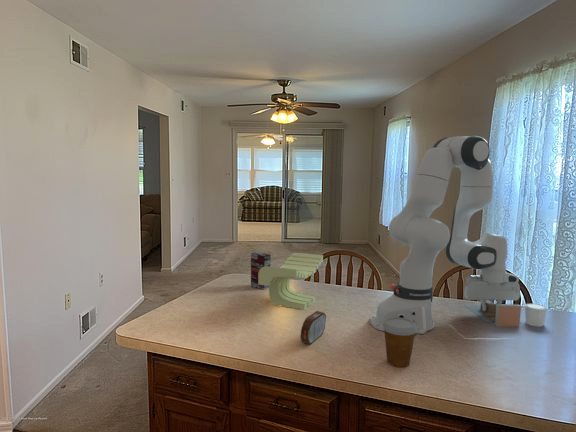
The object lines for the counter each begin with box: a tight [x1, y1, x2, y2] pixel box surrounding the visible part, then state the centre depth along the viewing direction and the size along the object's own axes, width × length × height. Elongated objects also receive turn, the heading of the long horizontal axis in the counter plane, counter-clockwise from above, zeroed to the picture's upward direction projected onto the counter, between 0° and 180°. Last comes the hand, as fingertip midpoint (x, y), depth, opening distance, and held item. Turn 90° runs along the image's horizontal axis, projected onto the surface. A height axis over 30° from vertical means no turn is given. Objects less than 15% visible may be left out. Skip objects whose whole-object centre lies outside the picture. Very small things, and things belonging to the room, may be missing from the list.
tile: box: [494, 303, 522, 327], centre depth 154 cm, size 8×2×8 cm, turn 91°
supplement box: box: [250, 251, 272, 290], centre depth 201 cm, size 9×5×16 cm, turn 50°
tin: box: [300, 310, 327, 345], centre depth 141 cm, size 15×3×8 cm, turn 152°
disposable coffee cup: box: [383, 317, 417, 368], centre depth 124 cm, size 10×10×12 cm
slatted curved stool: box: [258, 252, 324, 310], centre depth 179 cm, size 30×16×18 cm, turn 156°
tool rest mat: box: [464, 305, 521, 324], centre depth 167 cm, size 12×20×1 cm, turn 1°
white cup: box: [524, 303, 548, 327], centre depth 157 cm, size 7×7×7 cm
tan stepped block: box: [480, 300, 496, 321], centre depth 166 cm, size 14×6×4 cm, turn 1°
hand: (490, 310), depth 167 cm, fingers closed on tan stepped block, 2 cm apart
